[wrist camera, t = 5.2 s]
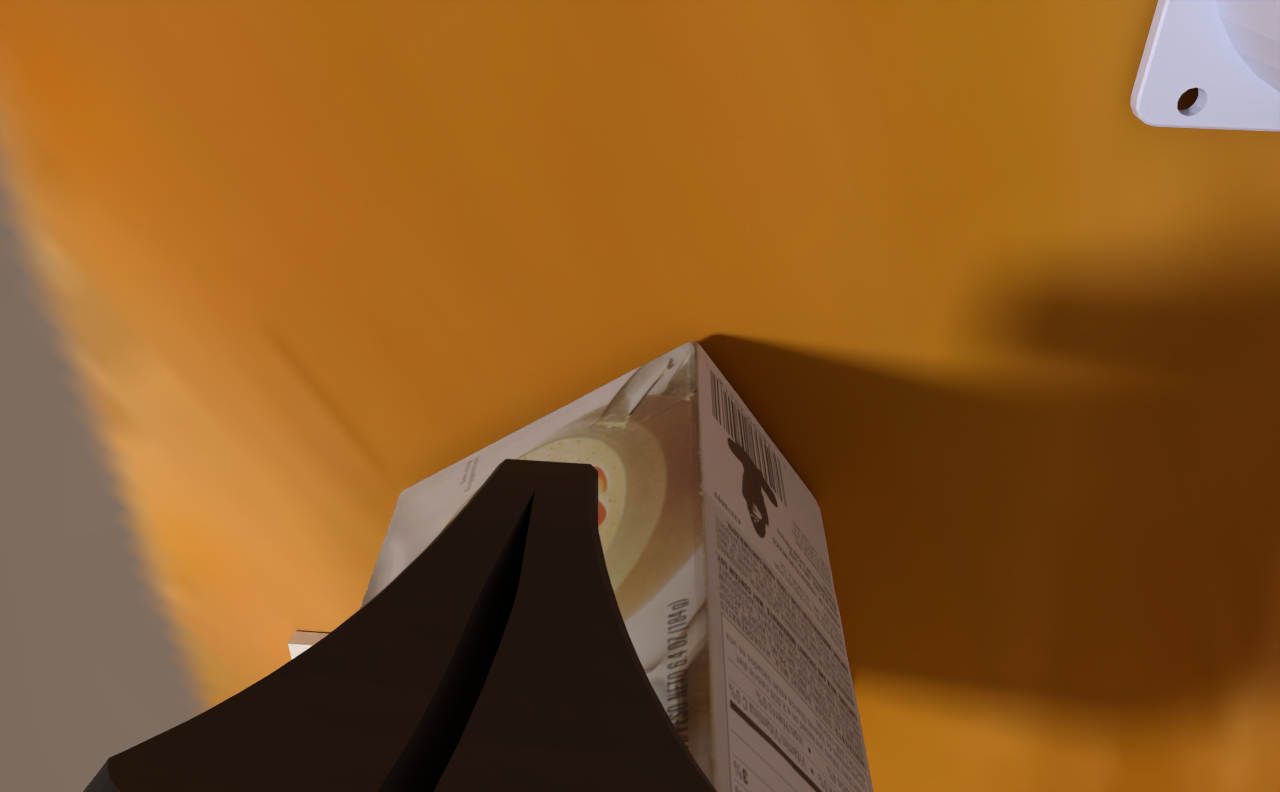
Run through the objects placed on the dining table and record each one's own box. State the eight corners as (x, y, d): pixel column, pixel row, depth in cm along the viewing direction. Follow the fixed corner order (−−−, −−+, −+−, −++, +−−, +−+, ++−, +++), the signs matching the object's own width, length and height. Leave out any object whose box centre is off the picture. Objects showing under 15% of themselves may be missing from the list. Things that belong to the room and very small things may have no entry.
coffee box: (544, 629, 28) (419, 1453, 14) (395, 486, 25) (69, 1363, 11) (830, 504, 24) (1002, 1417, 11) (700, 322, 21) (728, 1280, 8)
